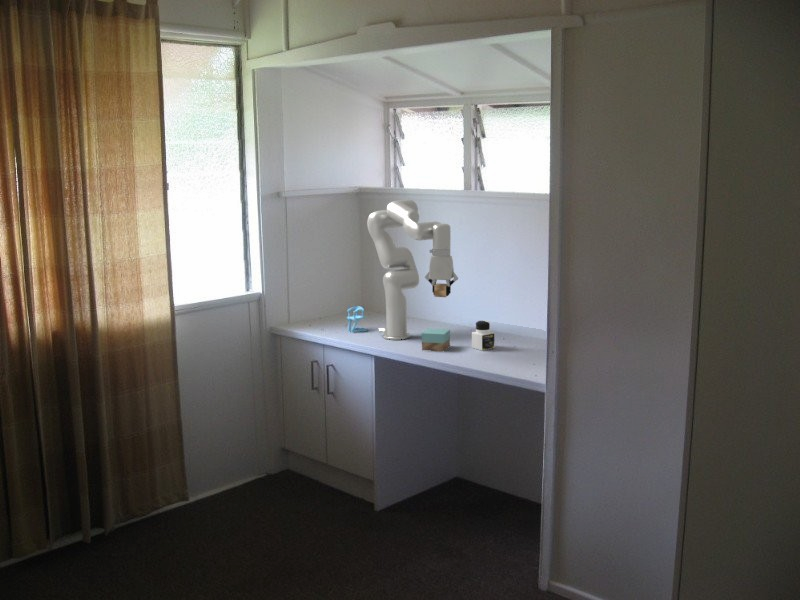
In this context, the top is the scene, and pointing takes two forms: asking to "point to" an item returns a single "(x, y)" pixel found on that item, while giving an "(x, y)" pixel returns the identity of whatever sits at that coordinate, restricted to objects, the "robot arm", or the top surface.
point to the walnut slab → (435, 346)
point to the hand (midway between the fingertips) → (441, 294)
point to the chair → (355, 319)
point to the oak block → (440, 290)
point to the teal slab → (436, 335)
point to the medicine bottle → (482, 336)
